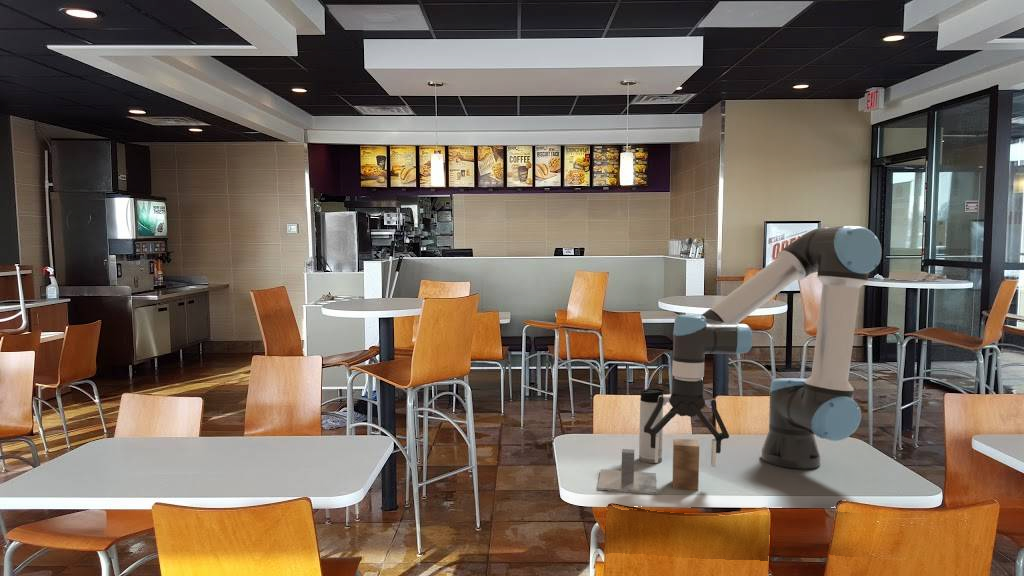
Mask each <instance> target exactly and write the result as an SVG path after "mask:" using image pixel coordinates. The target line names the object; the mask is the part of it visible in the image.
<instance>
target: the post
mask: <svg viewBox="0 0 1024 576" xmlns="http://www.w3.org/2000/svg"><path fill="white" fill-rule="evenodd" d="M596 490H597V491H602V490H609V491H608V492H615V491H620V492H619V493H628V492H631V493H632V494H644V495H658V490H657V473H655V472H645V471H644V472H643V471H641V472H640V471H635V449H631V448H630V449H628V448H622V449H621V470H616V469H615V470H614V469H604V468H601V469H600V473H599V478H598V484H597V489H596ZM631 493H630V494H631Z"/></svg>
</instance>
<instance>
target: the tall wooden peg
mask: <svg viewBox="0 0 1024 576" xmlns="http://www.w3.org/2000/svg"><path fill="white" fill-rule="evenodd" d="M672 441H673V444H672V445H673V449H672V451H673V452H672V487H673V489H674V490H687V491H699V477H700V476H699V474H700V473H699V471H700V444H699V440H698V439H689V438H688V439H687V438H673V440H672Z"/></svg>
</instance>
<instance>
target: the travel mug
mask: <svg viewBox="0 0 1024 576" xmlns="http://www.w3.org/2000/svg"><path fill="white" fill-rule="evenodd" d="M665 392H666V389H665V388H657V387H655V388H653V387H652V388H646V389H642V390H641V391H640V398H639V399H640V400H639V439H638V440H639V444H638V445H639V446H638V447H639V448H638V459H639V461H640V462H643V463H647V464H656V463H655V448H651V435H650V434H649V433H645V432H644V426H645V424H646V423H647V421H648V419H649V417H650V416H651V414H652V412H653V410H654V409H655V407H656V405H657V403H658V397H659V395H662V396H663V397H664V393H665ZM663 417H664V406H662V409H661V411H660V412H659V414H658V416H657V418H656V419H655V421H654V423H653V425H652V426H651V428H652V429H653V427H654V426H655V425H656V424H657V423H658V422H659V421H660V420H661V419H662V418H663ZM663 432H664V427H663V428H662V429H661V430H660V431H659V432H658V433H657V434H659V448H658V463H657V464H660V463H661V462H662V461H663V440H664V439H663V437H664V435H663V434H664V433H663Z"/></svg>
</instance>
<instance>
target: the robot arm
mask: <svg viewBox="0 0 1024 576" xmlns="http://www.w3.org/2000/svg"><path fill="white" fill-rule="evenodd" d="M880 242H881V241H880V240H879V238H878V237H877V236H876V235H875V233H874V232H873V231H871V230H870V229H868V228H867V227H865V226H856V225H845V226H843V225H841V226H831V227H830V226H829V227H828V226H826V227H818V228H815V229H811V230H810V231H808V232H806V233H804V234H802V235H801V236H799V237H798V238H797V239H795V240H793V241H792V242H790V243H789V244H788V245H786V246H785V247H784V248H783V249H781V250H780V251H778V252H777V255H776V256H777V257H776V259H774V260H773V261H771V262H770V263H769V264H768V265H766V266H765V267H763V268H762V269H761V270H759V271H757V273H756V274H754V275H753V276H751V277H750V278H749V279H748V280H746V281H745V282H743V284H741V285H740V286H737V288H736V289H734V290H733V291H732V292H730V293H729V294H727V295H726V296H725V297H724V298H723V299H721V300H719V301H717V303H716V304H715V305H713V306H712V307H710V308H709V309H707V310H706V311H704V312H703V313H702V314H701V315H699V314H678V315H677V316H676V317H675V319H674V322H673V323H674V324H673V332H672V335H673V336H672V337H673V339H672V340H673V341H672V342H673V343H672V344H673V345H672V346H673V348H672V350H673V351H672V367H671V369H672V371H671V375H672V377H673V378H672V379H671V392H670V393H671V394H670V396H669V397H668V396H664V395H663V396H662V395H659V397H658V403H657V405H656V407H655V409H654V410H653V412H652V414H651V416H650V417H649V419H648V421H647V423H646V424H645V426H644V432H645V433H649V434H650V435H651V448H655V463H654V464H659V463H658V448H659V434H657V433H658V432H659V431H660V430H661V429H662V428H663V429H664V427H665V426H666V425H667V424H668V423H669V422H670V421H671V420H672V419H673V418H674V417H675V416H676V415H678V416H679V417H691V418H694V417H695V416H697V418H698V419H699V420H700V421H701V422H702V423H703V424H704V426H705V427H706V428H707V429H708V431H709V432H710V434H712V436H713V437H712V438H711V451H710V452H711V454H710V455H711V456H710V457H711V459H710V461H711V462H710V465H711V467H712V468H716V465H717V464H716V460H717V459H716V458H717V454H720V453H721V451H722V450H721V449H722V440H725V439H729V438H730V435H729V433H728V431H727V427H726V426H725V424H724V421H723V419H722V418H721V415H720V413H719V411H718V407H717V401H716V399H715V398H714V397H711V398H709V399H704V382H705V381H704V380H703V378H704V376H705V357H706V356H705V355H706V354H707V355H710V354H712V355H713V354H714V355H717V354H718V355H720V354H721V355H726V354H729V355H731V354H732V355H740V354H746V353H748V352H750V350H751V349H752V346H753V343H754V342H753V339H754V337H753V331H752V329H751V328H750V326H749V325H748V324H746V323H740V322H741V321H743V320H744V319H746V318H747V317H748V316H750V315H751V314H752V313H753V312H755V311H756V310H758V309H759V308H760V307H762V306H763V305H764V304H766V303H767V302H768V301H769V300H771V299H772V298H774V297H775V296H776V295H778V294H779V293H780V292H781V291H783V290H784V289H786V287H788V286H790V284H792V283H793V282H795V281H803V280H804V279H805V278H806V277H809V276H810V275H812V274H815V273H817V276H816V278H817V279H818V280H819V281H820V282H821V284H822V287H821V297H820V302H819V303H820V305H819V311H818V312H819V313H818V320H817V321H818V322H817V329H816V337H815V343H814V353H813V361H812V368H811V375H810V376H809V377H808V378H804V377H803V378H801V377H800V378H799V377H784V378H783V377H782V378H781V377H780V378H775V379H772V380H771V382H770V386H769V392H768V394H769V415H768V416H769V419H768V422H769V423H768V431H767V435H766V437H765V440H764V442H763V445H762V447H761V459H762V461H765V462H766V463H768V464H771V465H774V466H776V467H777V466H778V467H782V468H788V469H797V470H800V469H801V470H806V469H807V470H808V469H816V468H819V467H820V466H821V454H820V450H819V448H818V444H817V440H816V437H817V438H820V439H824V440H829V441H833V442H837V441H842V440H843V441H844V440H846V439H847V438H849V437H850V436H851V435H853V434H854V433H855V432H856V431H857V429H858V427H859V426H860V424H861V420H862V410H861V407H860V406H859V405H858V404H859V403H857V402H856V401H855V400H854V391H855V390H854V387H853V386H852V385H851V383H850V382H849V377H850V369H851V363H852V361H851V360H852V353H853V345H854V337H855V330H856V329H855V328H856V322H857V312H858V305H859V298H860V290H861V288H862V287H863V286H864V285H865V284H867V283H868V281H869V275H870V273H871V272H872V271H874V270H875V269H876V267H878V266H879V265H880V263H881V260H882V256H883V255H882V253H883V252H882V245H881V243H880ZM667 403H669V405H670V406H671V408H670V410H669V411H668V412H667V413H666V414H665V415H663V418H662V419H661V420H660V421H659V422H658V423H657V424H656V425H655V426H654V427H653V429H652V428H651V426H652V425H653V423H654V421H655V419H656V418H657V416H658V414H659V412H660V411H661V409H662V406H663V407H665V406H666V405H667ZM705 405H706V406H707V408H709V409H710V410H711V411H712V415H713V416H714V419H715V420H716V422H717V424H718V427H719V429H720V431H721V432H719V431H718V430H717V428H715V426H714V425H713V424H712V423H711V422H710V420H709V419H708V418H707V417H706V415H705V414H704V413H703V411H702V409H703V407H705ZM815 436H816V437H815Z"/></svg>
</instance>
